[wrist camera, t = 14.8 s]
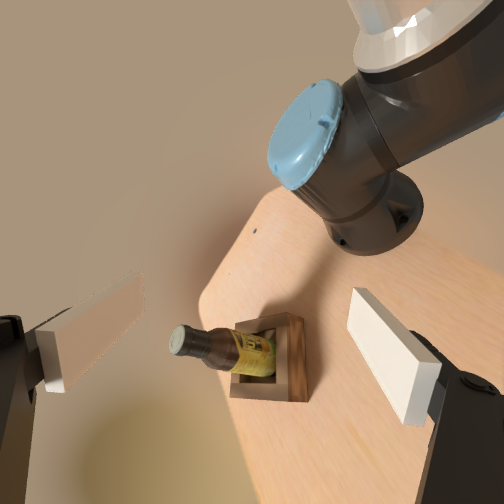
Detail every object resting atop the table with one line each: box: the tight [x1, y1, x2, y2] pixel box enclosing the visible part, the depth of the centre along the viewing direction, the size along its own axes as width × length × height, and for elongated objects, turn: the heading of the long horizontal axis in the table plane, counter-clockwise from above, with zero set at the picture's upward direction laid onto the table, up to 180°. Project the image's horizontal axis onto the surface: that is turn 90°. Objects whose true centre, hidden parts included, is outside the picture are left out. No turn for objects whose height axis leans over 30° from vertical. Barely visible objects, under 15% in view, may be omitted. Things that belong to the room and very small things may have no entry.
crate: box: [230, 312, 308, 402], centre depth 44 cm, size 13×13×5 cm
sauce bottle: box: [169, 325, 276, 377], centre depth 39 cm, size 6×6×20 cm
